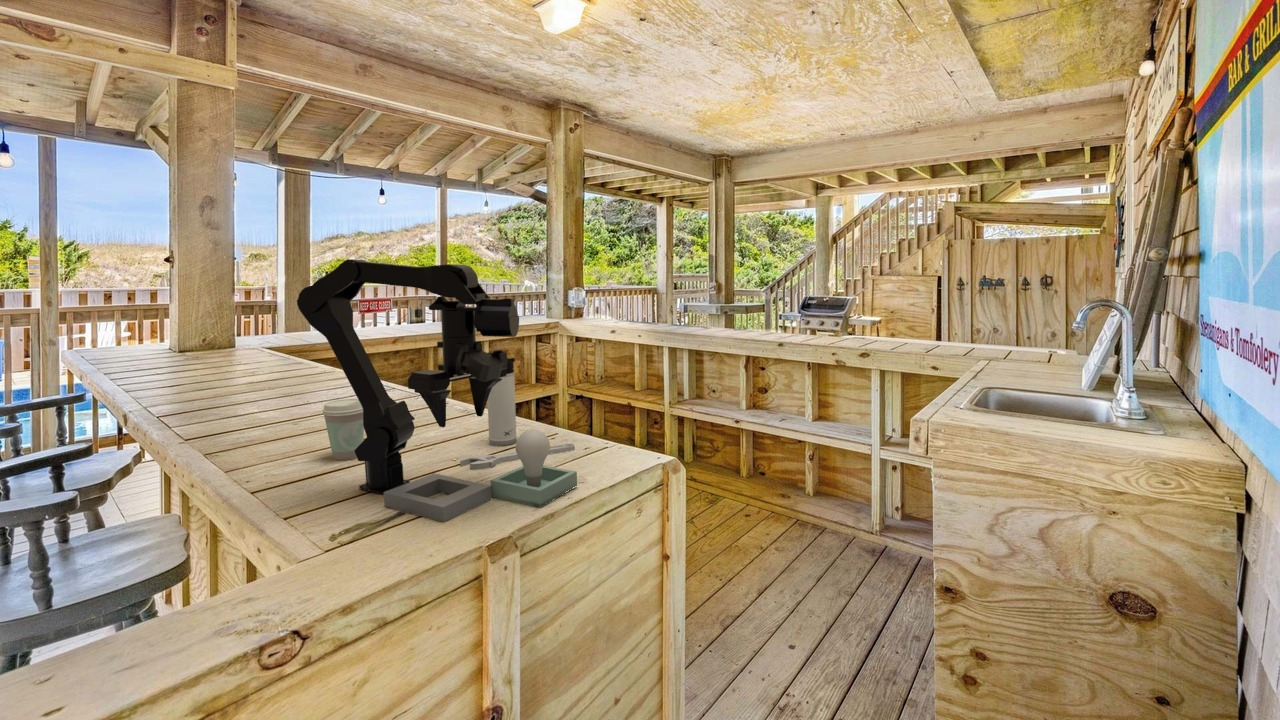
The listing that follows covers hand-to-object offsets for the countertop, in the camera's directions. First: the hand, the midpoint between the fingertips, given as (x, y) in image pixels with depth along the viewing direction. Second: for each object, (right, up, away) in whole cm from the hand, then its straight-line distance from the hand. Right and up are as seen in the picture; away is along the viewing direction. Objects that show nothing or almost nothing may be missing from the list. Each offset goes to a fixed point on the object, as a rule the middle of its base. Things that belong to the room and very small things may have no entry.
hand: (461, 421), depth 108 cm
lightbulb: (+13, -13, 0) cm, 18 cm away
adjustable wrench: (+7, -11, +20) cm, 24 cm away
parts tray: (+13, -13, 0) cm, 18 cm away
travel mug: (0, -8, +32) cm, 33 cm away
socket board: (-3, -14, -5) cm, 15 cm away
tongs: (-10, -16, -14) cm, 24 cm away
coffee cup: (-31, -10, +22) cm, 40 cm away
